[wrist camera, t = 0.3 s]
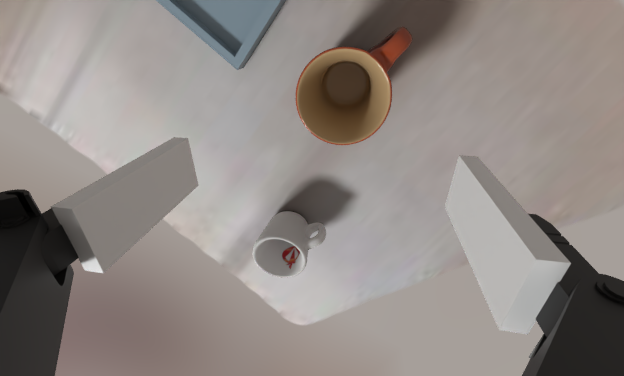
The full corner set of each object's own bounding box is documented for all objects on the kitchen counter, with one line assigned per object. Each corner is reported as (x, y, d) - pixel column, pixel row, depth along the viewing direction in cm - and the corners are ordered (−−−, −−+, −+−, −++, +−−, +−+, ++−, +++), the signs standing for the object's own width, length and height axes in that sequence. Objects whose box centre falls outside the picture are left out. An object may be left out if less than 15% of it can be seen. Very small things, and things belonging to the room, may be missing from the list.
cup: (317, 193, 43) (309, 225, 36) (337, 232, 46) (333, 268, 40) (259, 212, 47) (241, 244, 40) (281, 247, 50) (268, 282, 43)
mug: (344, 129, 38) (339, 162, 29) (297, 80, 35) (276, 98, 27) (422, 60, 32) (445, 74, 23) (372, -3, 30) (378, -15, 21)
